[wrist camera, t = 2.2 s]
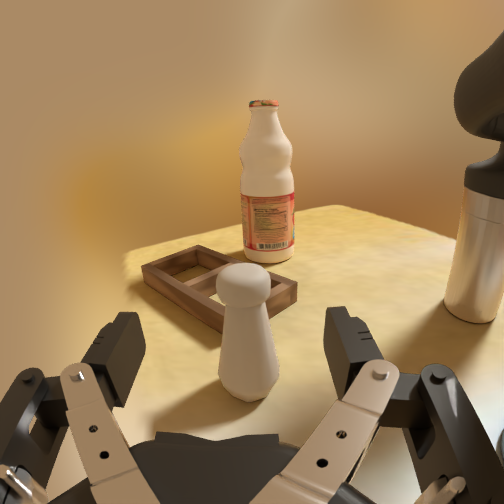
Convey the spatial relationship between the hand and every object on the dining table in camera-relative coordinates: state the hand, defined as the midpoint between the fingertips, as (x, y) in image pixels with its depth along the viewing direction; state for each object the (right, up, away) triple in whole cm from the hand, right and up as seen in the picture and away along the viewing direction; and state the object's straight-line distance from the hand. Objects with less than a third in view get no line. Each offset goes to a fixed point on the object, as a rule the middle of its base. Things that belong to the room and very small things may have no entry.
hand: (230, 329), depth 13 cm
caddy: (-5, -3, +35) cm, 35 cm away
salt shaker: (+1, -10, +17) cm, 20 cm away
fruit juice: (+4, +3, +47) cm, 47 cm away
